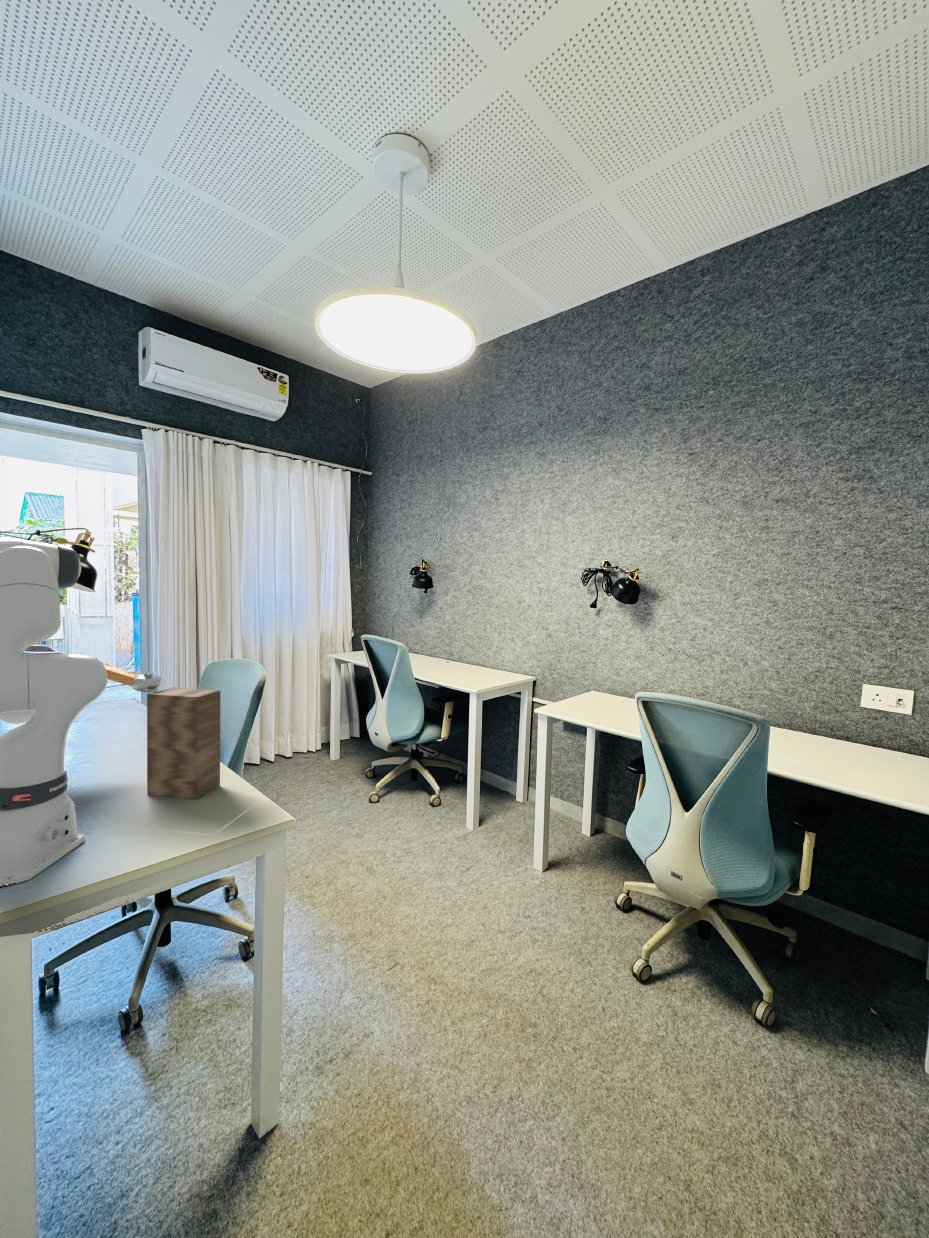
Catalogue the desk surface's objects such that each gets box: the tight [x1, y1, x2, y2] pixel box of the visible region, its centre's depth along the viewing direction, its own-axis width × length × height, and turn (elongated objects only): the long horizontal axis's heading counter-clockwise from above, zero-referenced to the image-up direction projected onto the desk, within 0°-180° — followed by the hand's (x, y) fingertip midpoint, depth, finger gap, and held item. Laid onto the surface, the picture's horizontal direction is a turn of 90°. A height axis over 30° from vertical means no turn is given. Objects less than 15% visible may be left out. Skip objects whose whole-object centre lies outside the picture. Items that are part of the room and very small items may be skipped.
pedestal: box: [146, 687, 221, 800], centre depth 129 cm, size 14×9×26 cm, turn 82°
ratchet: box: [103, 663, 162, 693], centre depth 131 cm, size 22×6×4 cm, turn 82°
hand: (94, 665), depth 132 cm, fingers closed on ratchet, 3 cm apart
